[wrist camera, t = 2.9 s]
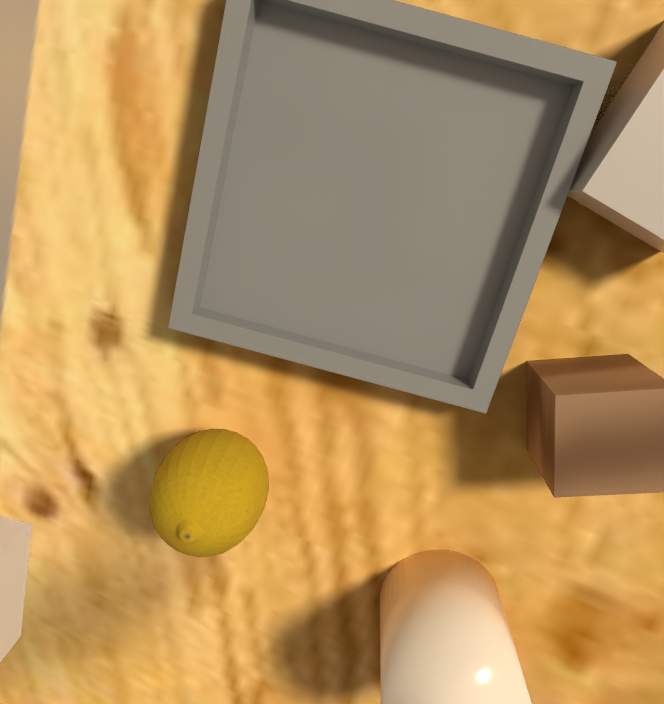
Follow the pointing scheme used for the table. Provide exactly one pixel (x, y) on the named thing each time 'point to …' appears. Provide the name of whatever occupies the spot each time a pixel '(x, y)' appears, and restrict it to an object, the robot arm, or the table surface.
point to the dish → (380, 189)
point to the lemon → (209, 492)
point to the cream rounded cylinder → (446, 635)
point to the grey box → (629, 153)
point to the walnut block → (596, 425)
